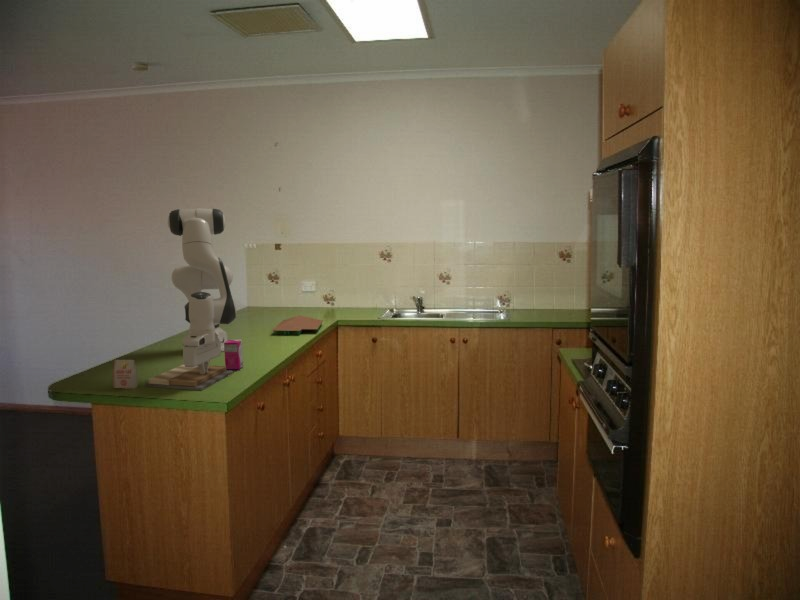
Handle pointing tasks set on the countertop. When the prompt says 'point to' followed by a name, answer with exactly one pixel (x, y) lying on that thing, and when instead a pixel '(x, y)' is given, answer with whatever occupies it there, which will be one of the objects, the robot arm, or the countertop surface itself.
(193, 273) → the robot arm
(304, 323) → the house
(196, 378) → the walnut plank
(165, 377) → the floor board
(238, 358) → the supplement box
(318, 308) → the countertop surface
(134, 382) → the white food carton
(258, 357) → the countertop surface
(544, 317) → the countertop surface
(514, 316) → the countertop surface
